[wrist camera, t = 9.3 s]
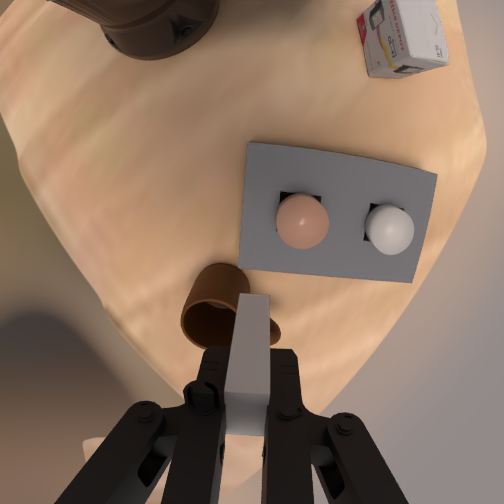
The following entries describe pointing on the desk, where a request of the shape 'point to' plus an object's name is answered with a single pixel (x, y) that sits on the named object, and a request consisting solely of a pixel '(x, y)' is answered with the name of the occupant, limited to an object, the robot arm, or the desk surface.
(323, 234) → the terracotta plug
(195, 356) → the desk surface
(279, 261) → the panel
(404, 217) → the grey plug
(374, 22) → the ink box
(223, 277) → the mug
